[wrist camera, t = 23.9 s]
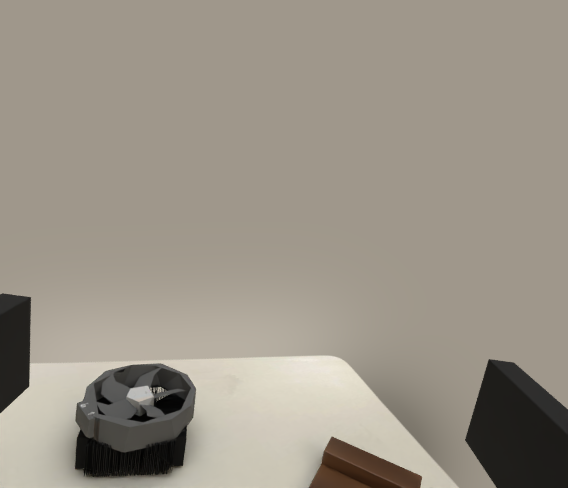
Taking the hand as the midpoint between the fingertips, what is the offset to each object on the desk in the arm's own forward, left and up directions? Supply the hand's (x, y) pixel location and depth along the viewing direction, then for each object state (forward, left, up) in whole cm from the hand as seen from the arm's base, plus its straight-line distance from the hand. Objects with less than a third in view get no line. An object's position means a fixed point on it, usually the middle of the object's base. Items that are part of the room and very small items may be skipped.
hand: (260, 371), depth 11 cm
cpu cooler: (+25, -7, -23) cm, 35 cm away
